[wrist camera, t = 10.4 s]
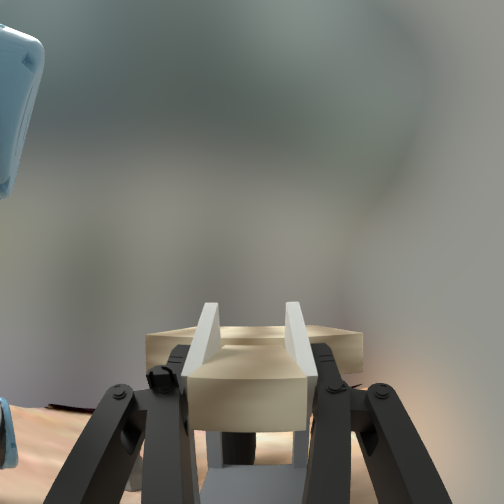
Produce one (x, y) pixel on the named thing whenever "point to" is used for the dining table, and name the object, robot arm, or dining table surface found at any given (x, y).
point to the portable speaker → (238, 448)
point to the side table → (250, 475)
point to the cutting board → (253, 376)
